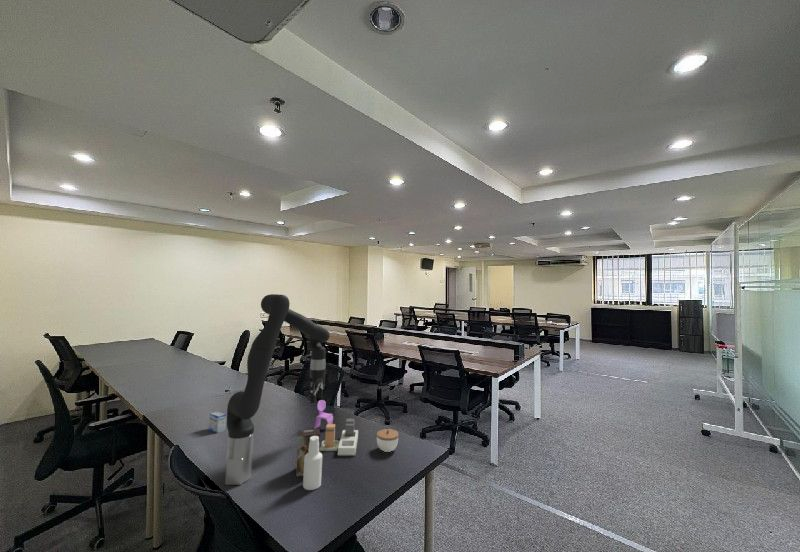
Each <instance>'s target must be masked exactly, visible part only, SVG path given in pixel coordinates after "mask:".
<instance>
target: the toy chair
mask: <svg viewBox="0 0 800 552" xmlns="http://www.w3.org/2000/svg"><path fill="white" fill-rule="evenodd" d="M326 404H327V402H326V401H325V400H324V399H320V400H318V402H317V405H316V408H317V410H318V415H316V418H315V424H314V427H313V429H318V427H320V426H321V421H322V420H325V421H326V423H327V424H334V423H333V422H334V416H333V413H327V412H324V410H325V409H326V407H327V406H326Z"/></svg>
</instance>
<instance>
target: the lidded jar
mask: <svg viewBox="0 0 800 552" xmlns="http://www.w3.org/2000/svg"><path fill="white" fill-rule="evenodd" d="M399 436H400V435H399V432H398V431H397V430H394V429H390V428H386V429H385V428H384V429H380V430H378V431H377V433H376V444H377V446H378V448H379V449H380V451H381V450H382V451H384V452H391V451H393V452H394V451H395V450H396V448H397V446H398V442H399ZM382 451H381V452H382ZM384 452H383V453H384ZM391 453H392V452H391Z"/></svg>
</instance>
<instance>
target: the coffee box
mask: <svg viewBox="0 0 800 552" xmlns="http://www.w3.org/2000/svg"><path fill="white" fill-rule="evenodd" d="M312 436H318V437H319V452H320V453H321V451H320V446H321V444H320V443H321V431H320V428H315V429H314V428H312V429H311V428H310V429H299V430H298V431H297V443H296V444H297V447H296V448H297V449H296V450H297V451H296V477H303V476H304V457H305V455H306V454H307V453H308V450H309V443H310V437H312Z"/></svg>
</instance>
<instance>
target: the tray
mask: <svg viewBox="0 0 800 552" xmlns="http://www.w3.org/2000/svg"><path fill="white" fill-rule="evenodd" d="M339 443H340V440H335V443H334V448H325V439H324V440H322V441H321V444H320V452H338V446H339Z"/></svg>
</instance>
